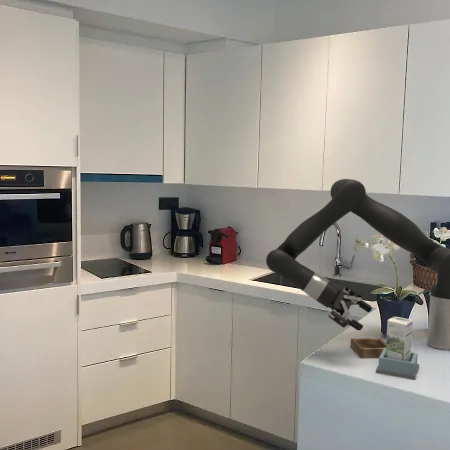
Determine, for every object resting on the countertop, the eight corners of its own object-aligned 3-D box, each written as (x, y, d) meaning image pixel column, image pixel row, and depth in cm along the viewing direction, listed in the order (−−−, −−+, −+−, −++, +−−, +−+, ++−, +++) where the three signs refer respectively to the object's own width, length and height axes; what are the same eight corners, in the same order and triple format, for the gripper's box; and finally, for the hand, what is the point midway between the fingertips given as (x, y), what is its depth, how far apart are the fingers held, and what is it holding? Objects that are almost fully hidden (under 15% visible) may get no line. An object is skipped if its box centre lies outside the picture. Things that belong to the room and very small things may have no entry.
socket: (381, 360, 172) (382, 346, 171) (419, 367, 167) (420, 352, 166) (375, 372, 162) (376, 358, 161) (415, 379, 157) (416, 364, 157)
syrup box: (410, 366, 165) (413, 319, 163) (402, 372, 160) (406, 323, 158) (392, 361, 168) (394, 315, 166) (384, 367, 164) (386, 319, 162)
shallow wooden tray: (379, 347, 184) (380, 338, 184) (391, 357, 174) (392, 348, 174) (350, 347, 183) (350, 338, 183) (360, 358, 173) (360, 349, 173)
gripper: (317, 297, 166) (364, 328, 163) (334, 269, 175) (379, 297, 172) (308, 311, 171) (353, 340, 168) (325, 282, 181) (368, 310, 178)
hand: (366, 319), depth 170 cm, fingers open, 8 cm apart
